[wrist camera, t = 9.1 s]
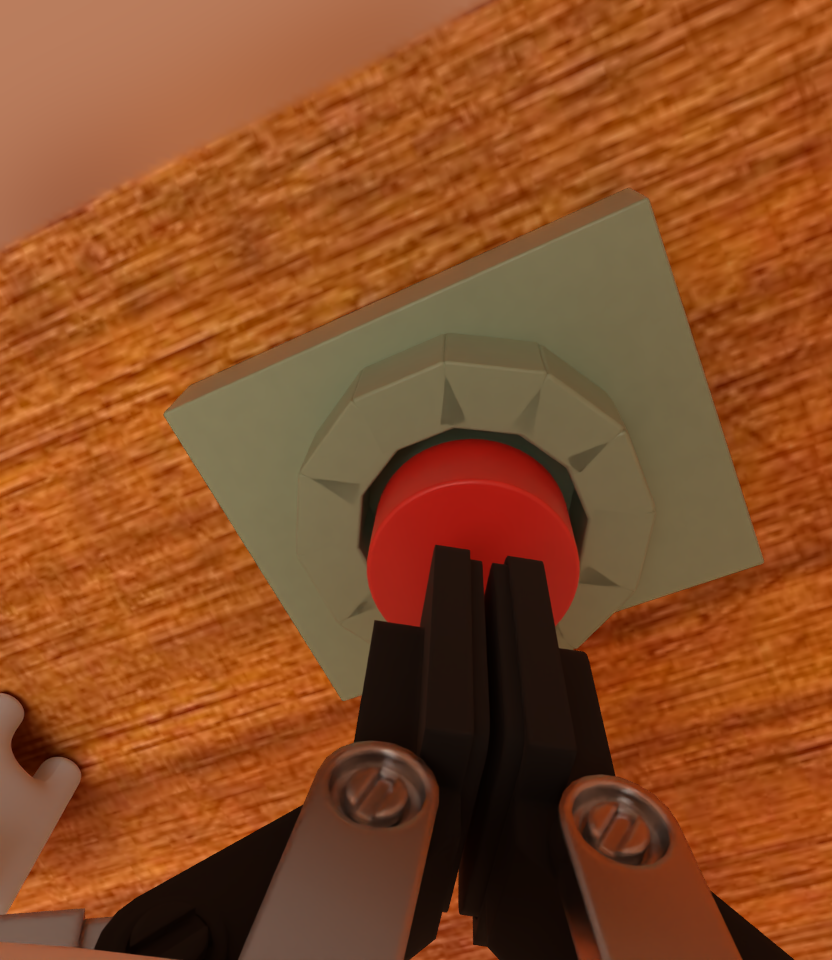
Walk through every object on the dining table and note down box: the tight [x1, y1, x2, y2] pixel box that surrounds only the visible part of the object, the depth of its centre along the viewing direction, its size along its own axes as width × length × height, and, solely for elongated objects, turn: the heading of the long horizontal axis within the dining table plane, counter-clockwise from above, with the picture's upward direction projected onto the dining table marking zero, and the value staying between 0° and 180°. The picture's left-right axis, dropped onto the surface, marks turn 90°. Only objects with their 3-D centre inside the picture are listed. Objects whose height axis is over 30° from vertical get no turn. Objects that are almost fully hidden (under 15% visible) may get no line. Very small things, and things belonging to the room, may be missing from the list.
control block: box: [164, 188, 764, 701], centre depth 16 cm, size 10×8×4 cm
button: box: [367, 439, 580, 627], centre depth 14 cm, size 4×4×2 cm
